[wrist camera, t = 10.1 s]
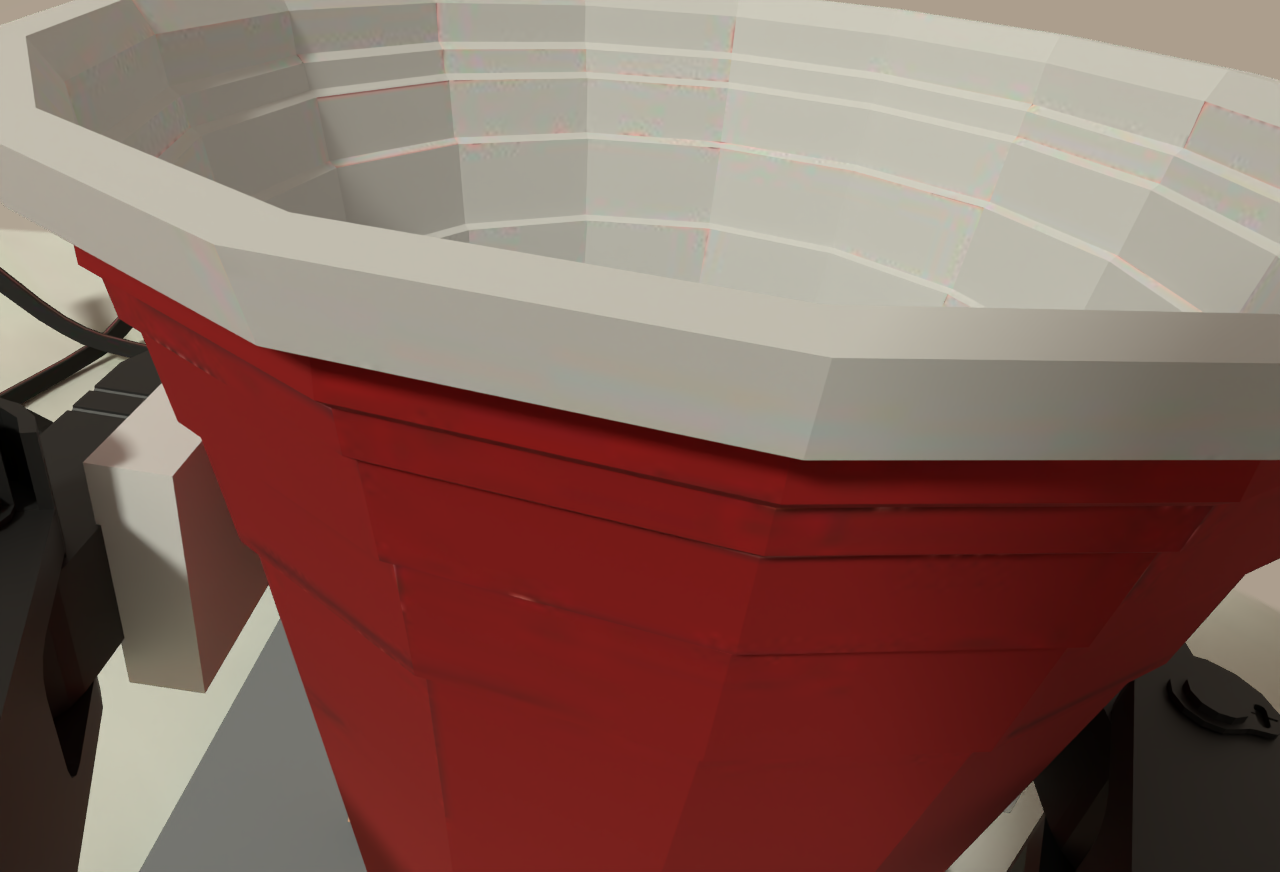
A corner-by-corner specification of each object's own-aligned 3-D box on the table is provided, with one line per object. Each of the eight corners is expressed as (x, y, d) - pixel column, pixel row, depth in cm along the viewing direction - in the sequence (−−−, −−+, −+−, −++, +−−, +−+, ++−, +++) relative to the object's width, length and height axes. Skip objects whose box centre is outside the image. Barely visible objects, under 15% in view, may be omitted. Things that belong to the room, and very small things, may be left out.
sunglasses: (334, 290, 39) (322, 172, 36) (446, 473, 29) (441, 327, 26) (-169, 353, 32) (-231, 210, 29) (-265, 630, 21) (-375, 448, 19)
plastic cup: (487, 544, 20) (539, -108, 13) (1002, 784, 16) (1410, 77, 10) (-32, 1024, 11) (-620, -164, 5) (829, 1727, 8) (2979, 1064, 1)
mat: (851, 499, 33) (857, 481, 32) (997, 1197, 16) (1014, 1177, 15) (398, 424, 32) (399, 404, 32) (56, 1059, 15) (46, 1037, 15)
